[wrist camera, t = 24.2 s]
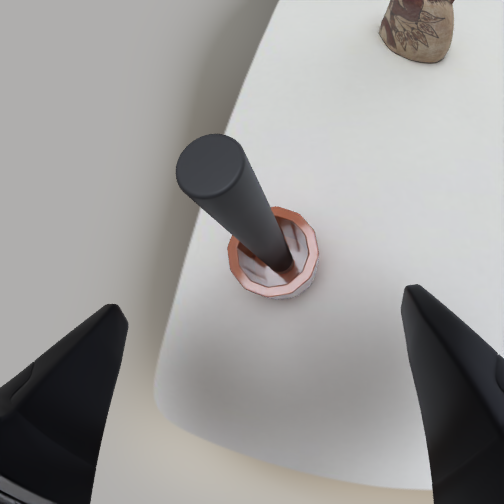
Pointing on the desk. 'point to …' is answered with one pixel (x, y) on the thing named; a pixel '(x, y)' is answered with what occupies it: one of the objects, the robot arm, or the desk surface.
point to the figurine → (418, 28)
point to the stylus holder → (263, 277)
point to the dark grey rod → (233, 196)
